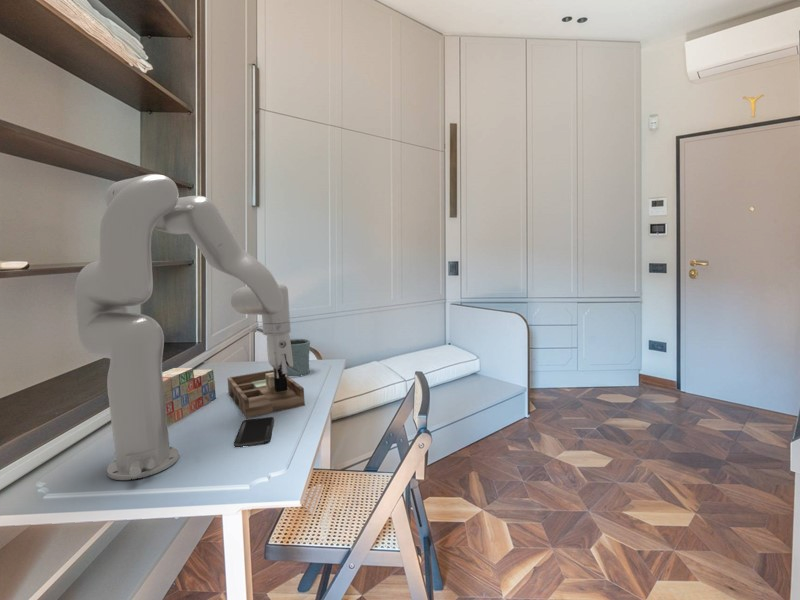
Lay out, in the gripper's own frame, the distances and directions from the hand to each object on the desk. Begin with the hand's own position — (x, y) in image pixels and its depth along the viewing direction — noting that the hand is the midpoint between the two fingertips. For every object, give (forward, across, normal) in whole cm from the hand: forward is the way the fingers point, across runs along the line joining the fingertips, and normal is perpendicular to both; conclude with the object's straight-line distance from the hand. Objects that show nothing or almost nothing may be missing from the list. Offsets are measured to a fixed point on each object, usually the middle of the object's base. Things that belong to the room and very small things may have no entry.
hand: (281, 390), depth 120 cm
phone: (+4, -17, +11) cm, 21 cm away
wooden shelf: (+4, +7, +3) cm, 9 cm away
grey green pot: (+4, +28, -13) cm, 32 cm away
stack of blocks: (+4, +10, +25) cm, 27 cm away
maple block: (+1, +5, 0) cm, 5 cm away
